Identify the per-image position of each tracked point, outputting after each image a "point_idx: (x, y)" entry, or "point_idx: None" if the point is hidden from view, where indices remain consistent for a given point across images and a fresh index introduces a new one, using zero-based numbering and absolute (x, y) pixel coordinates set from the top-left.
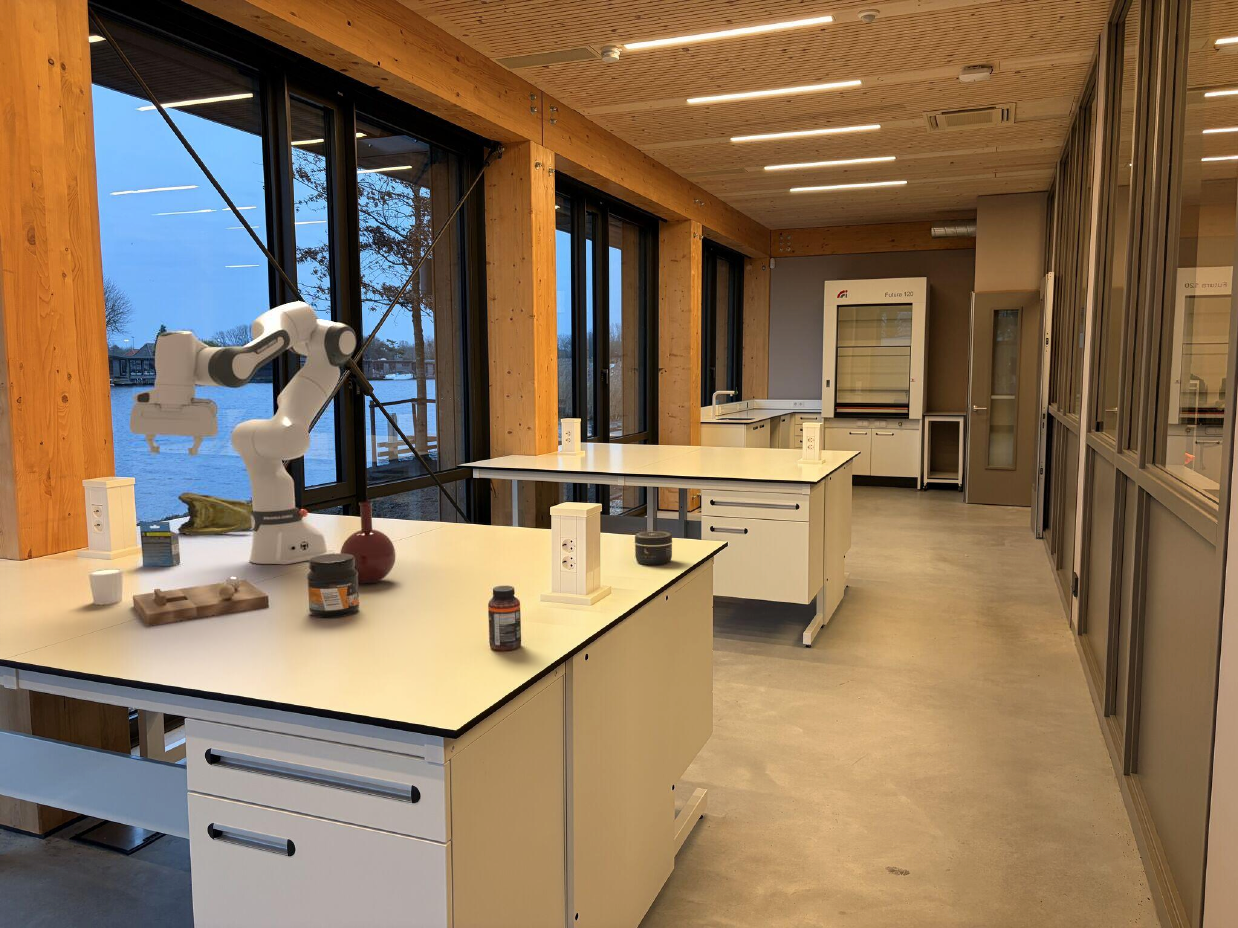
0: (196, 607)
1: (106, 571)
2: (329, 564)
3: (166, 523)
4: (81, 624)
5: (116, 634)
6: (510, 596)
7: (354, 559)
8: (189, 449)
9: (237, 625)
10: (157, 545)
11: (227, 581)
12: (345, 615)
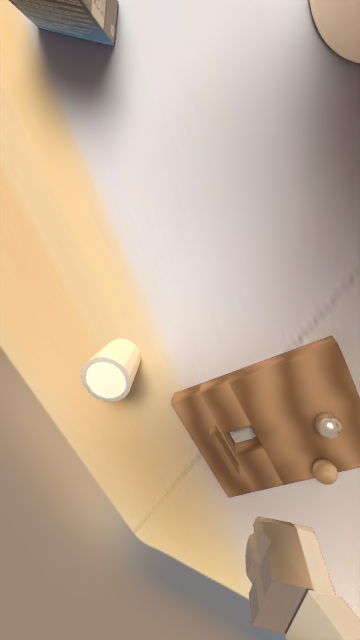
0: (283, 484)
1: (104, 375)
2: None
3: None
4: (145, 455)
5: (203, 501)
6: None
7: None
8: (260, 610)
9: (338, 511)
10: (48, 4)
11: (322, 435)
12: None
